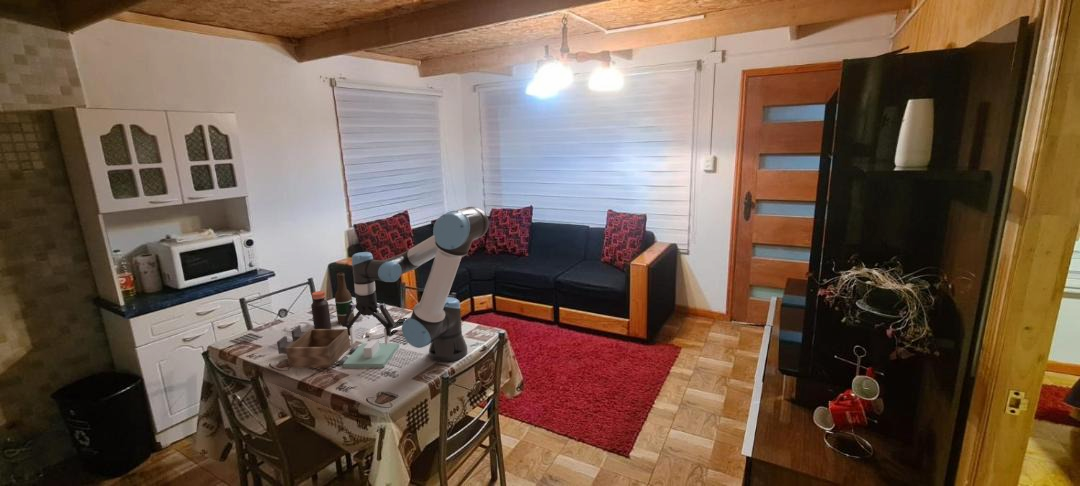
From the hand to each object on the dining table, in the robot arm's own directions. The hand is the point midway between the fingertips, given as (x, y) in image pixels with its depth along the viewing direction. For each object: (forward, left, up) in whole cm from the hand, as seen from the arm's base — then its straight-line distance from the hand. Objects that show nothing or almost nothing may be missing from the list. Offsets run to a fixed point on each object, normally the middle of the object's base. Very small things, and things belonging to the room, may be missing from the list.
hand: (370, 343), depth 186 cm
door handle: (+2, -26, -6) cm, 27 cm away
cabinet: (+23, 0, -6) cm, 24 cm away
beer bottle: (+27, -36, -6) cm, 45 cm away
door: (+1, 0, -6) cm, 6 cm away
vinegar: (+30, -20, -6) cm, 36 cm away
